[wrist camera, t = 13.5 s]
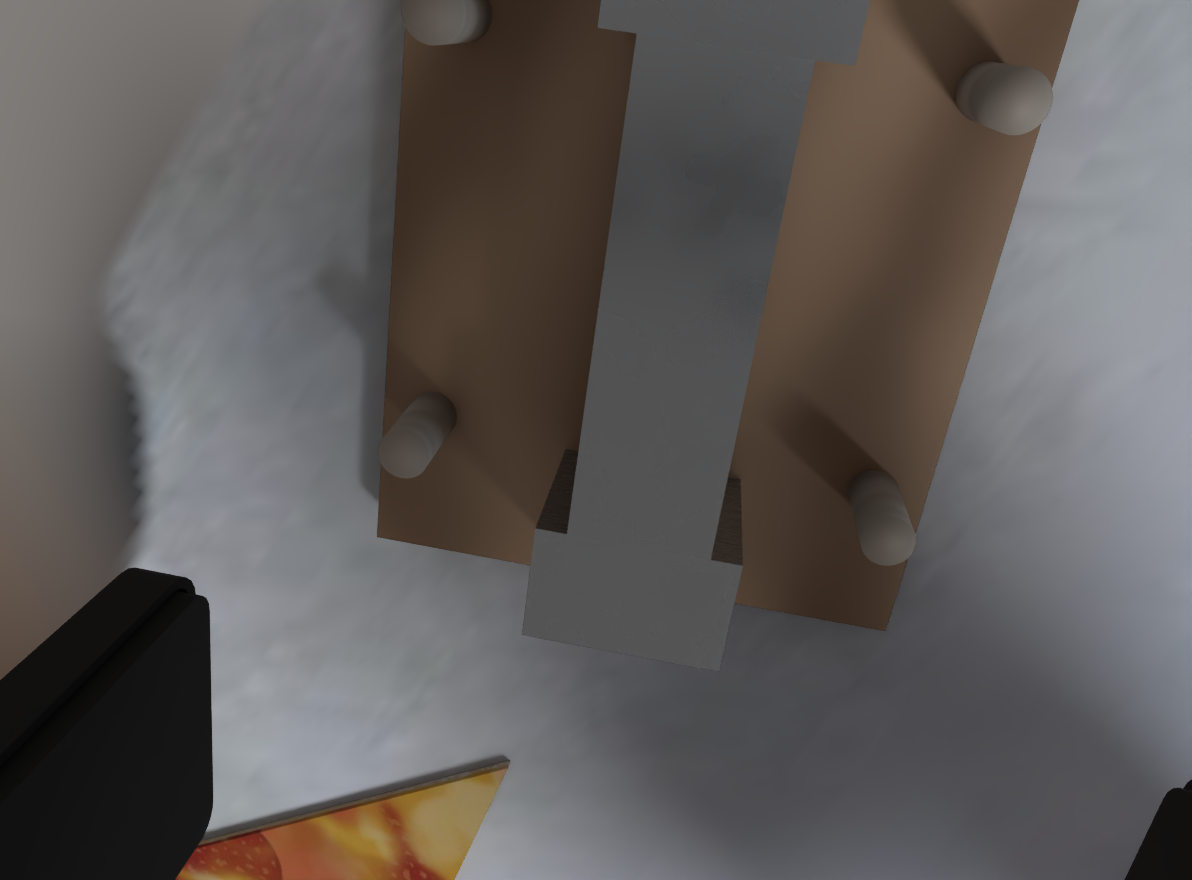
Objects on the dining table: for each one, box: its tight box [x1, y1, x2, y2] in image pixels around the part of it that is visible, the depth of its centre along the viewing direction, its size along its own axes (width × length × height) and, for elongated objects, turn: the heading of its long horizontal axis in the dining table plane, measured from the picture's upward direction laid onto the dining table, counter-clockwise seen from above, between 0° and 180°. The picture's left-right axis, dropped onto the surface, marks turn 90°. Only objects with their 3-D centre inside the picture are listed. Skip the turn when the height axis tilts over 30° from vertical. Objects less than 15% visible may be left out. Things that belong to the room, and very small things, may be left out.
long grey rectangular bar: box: [522, 0, 870, 672], centre depth 24 cm, size 5×18×5 cm, turn 172°
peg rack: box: [377, 0, 1079, 631], centre depth 26 cm, size 16×20×4 cm
